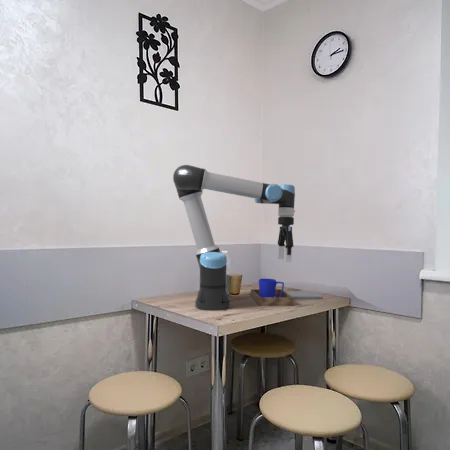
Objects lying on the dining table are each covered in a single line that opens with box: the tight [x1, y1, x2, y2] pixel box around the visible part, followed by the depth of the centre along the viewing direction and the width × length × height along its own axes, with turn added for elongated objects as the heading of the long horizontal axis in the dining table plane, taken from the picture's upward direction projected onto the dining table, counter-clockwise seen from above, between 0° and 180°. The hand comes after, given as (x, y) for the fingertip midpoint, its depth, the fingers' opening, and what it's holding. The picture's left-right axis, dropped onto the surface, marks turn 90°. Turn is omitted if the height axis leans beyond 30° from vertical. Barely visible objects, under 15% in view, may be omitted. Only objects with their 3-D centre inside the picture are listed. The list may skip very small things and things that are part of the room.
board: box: [285, 291, 323, 300], centre depth 187 cm, size 18×14×1 cm
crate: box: [250, 288, 295, 307], centre depth 174 cm, size 16×23×4 cm
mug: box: [258, 278, 285, 298], centre depth 174 cm, size 8×12×10 cm
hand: (284, 260), depth 175 cm, fingers open, 13 cm apart
